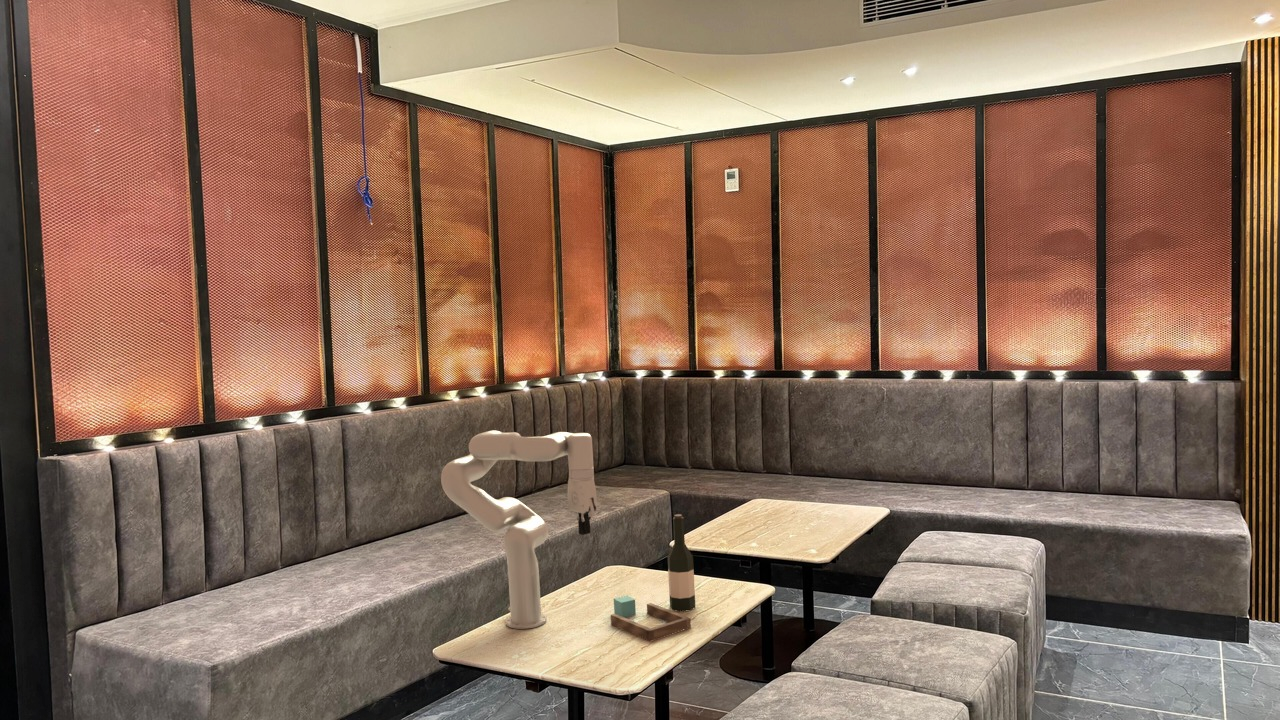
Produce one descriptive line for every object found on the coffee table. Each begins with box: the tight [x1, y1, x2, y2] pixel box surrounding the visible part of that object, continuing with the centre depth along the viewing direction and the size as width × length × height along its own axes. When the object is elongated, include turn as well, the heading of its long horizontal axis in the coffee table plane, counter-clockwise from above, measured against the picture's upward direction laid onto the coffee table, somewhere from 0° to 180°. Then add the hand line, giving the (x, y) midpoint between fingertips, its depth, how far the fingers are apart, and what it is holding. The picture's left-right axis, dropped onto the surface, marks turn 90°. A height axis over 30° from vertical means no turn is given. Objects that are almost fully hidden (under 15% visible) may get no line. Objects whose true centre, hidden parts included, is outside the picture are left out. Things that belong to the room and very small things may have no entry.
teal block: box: [613, 595, 637, 618], centre depth 278 cm, size 5×5×5 cm
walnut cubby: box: [610, 602, 692, 642], centre depth 266 cm, size 20×16×3 cm
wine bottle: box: [667, 513, 696, 612], centre depth 281 cm, size 8×8×30 cm
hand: (584, 533), depth 266 cm, fingers closed
